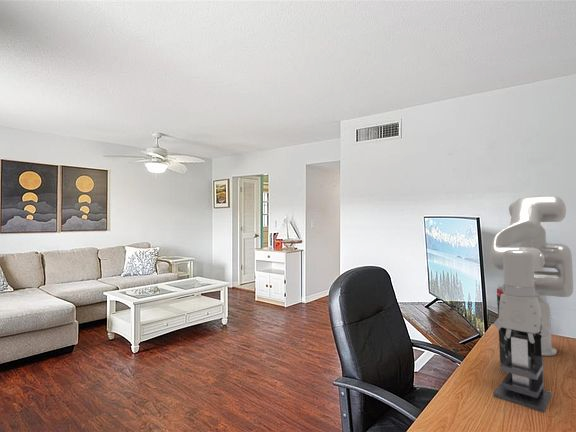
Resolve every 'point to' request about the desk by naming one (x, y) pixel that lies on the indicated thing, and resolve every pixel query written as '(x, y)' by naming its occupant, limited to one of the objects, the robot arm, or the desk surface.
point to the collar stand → (522, 395)
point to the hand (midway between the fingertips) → (521, 352)
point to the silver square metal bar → (521, 359)
